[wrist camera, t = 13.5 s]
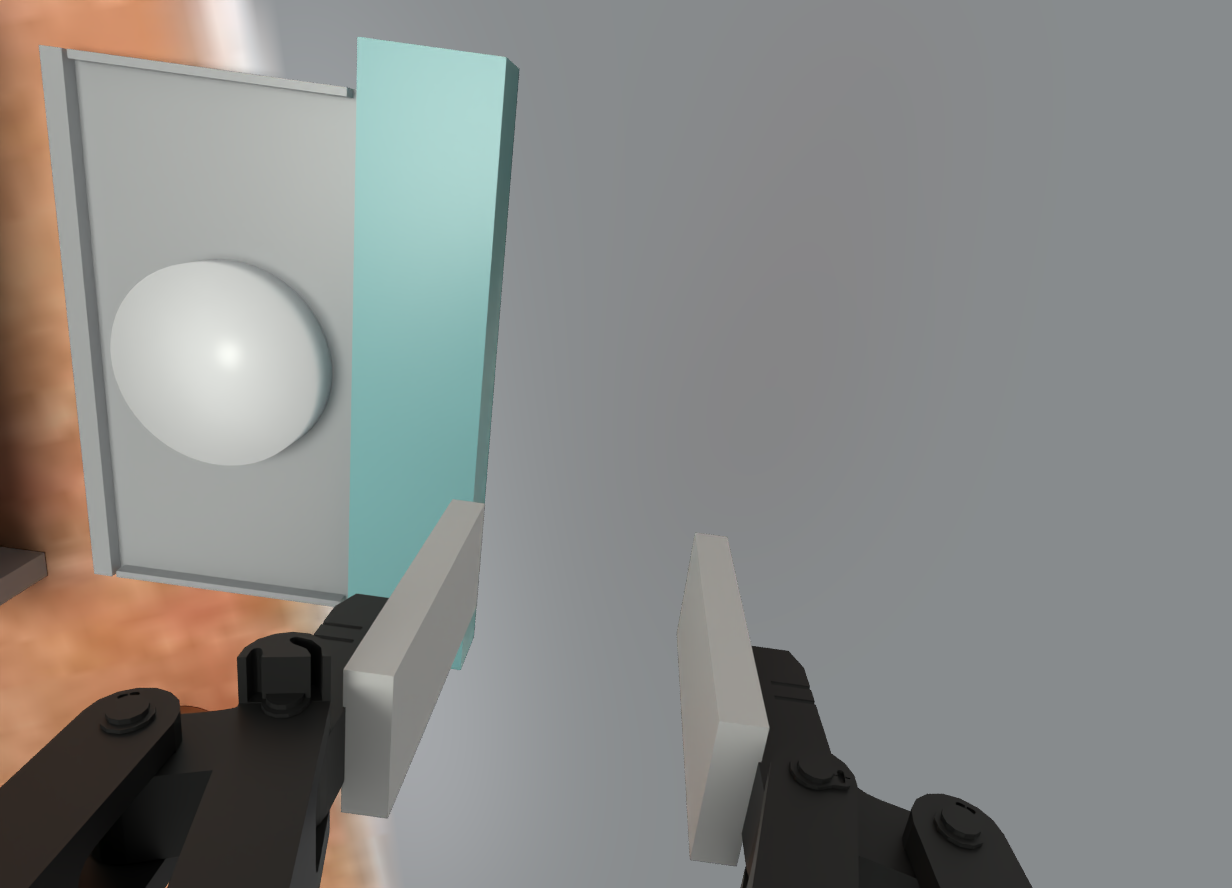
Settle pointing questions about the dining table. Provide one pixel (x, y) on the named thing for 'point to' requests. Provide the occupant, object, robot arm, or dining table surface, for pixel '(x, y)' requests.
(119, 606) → the dining table surface
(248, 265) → the disc
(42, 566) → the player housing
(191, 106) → the tray
